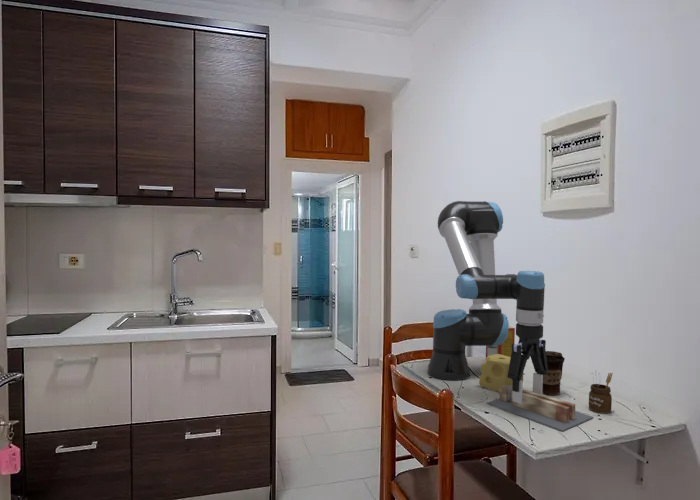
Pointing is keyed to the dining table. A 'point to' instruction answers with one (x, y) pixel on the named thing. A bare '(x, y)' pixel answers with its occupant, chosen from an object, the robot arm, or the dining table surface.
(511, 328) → the baking soda box
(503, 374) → the cheese
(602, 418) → the dining table surface
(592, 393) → the utensil holder
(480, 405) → the dining table surface
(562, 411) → the arm
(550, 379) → the coffee cup
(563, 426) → the mat
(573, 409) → the tongs swing arm
